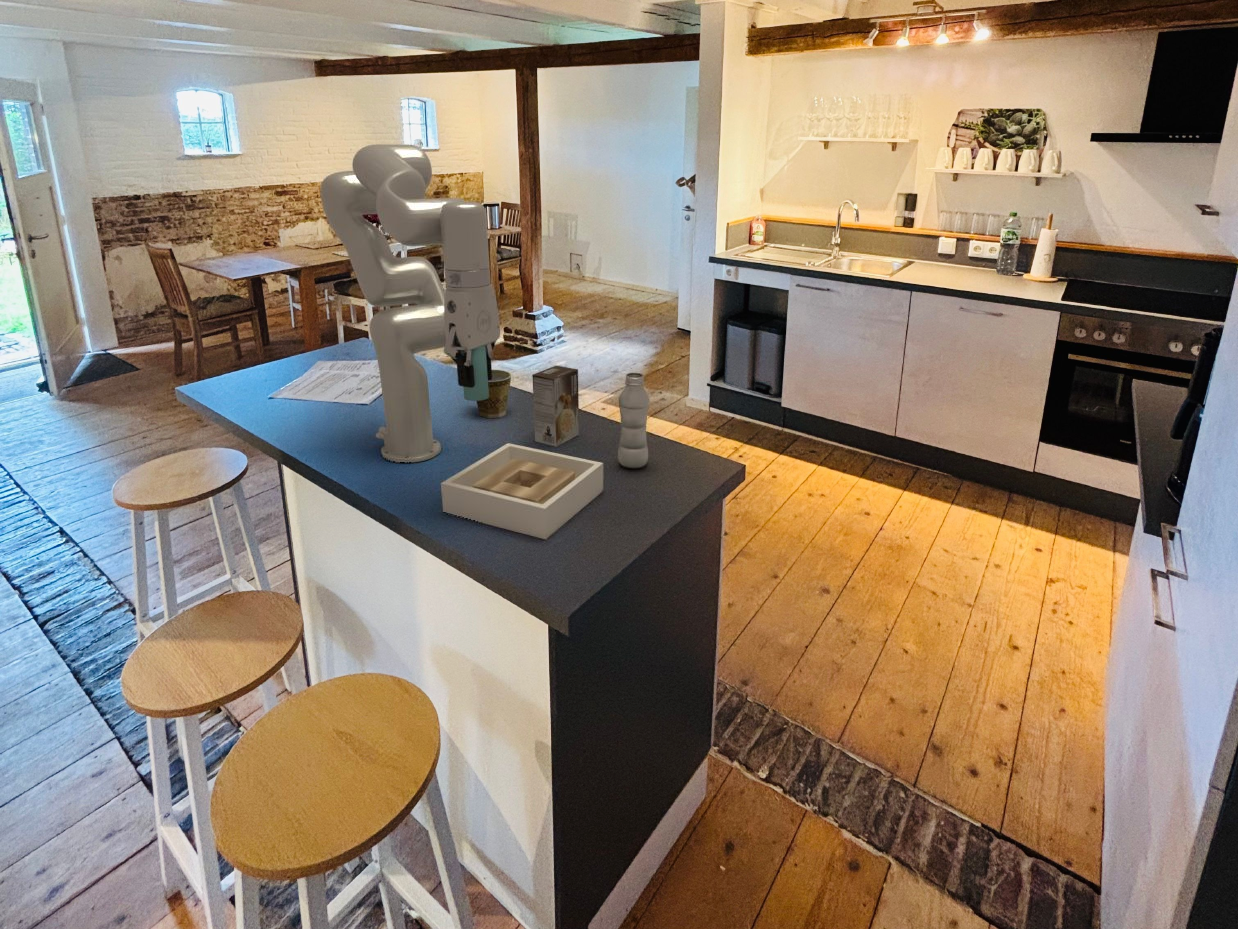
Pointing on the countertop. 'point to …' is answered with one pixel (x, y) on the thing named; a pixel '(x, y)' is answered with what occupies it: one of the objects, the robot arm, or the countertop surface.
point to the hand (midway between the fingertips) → (475, 381)
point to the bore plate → (526, 481)
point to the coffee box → (556, 405)
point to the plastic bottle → (633, 422)
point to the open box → (517, 511)
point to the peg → (478, 376)
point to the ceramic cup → (496, 395)
